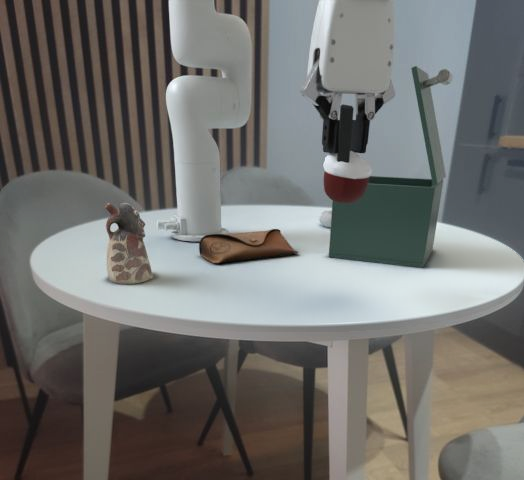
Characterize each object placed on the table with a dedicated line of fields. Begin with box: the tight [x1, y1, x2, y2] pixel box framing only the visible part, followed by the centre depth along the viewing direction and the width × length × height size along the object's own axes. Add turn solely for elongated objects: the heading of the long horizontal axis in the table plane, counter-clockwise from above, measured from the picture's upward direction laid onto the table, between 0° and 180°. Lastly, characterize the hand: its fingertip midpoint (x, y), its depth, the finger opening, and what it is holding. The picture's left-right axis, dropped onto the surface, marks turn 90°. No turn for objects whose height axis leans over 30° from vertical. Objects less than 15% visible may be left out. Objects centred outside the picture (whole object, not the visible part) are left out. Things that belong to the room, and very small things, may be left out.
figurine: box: [104, 202, 154, 285], centre depth 79 cm, size 7×7×12 cm
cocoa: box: [322, 104, 373, 203], centre depth 67 cm, size 10×6×12 cm, turn 131°
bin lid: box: [411, 65, 453, 185], centre depth 86 cm, size 18×15×5 cm
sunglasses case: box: [198, 228, 298, 264], centre depth 96 cm, size 18×7×7 cm
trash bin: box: [328, 175, 444, 269], centre depth 96 cm, size 18×15×14 cm
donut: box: [318, 209, 332, 229], centre depth 124 cm, size 10×4×10 cm
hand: (344, 151), depth 67 cm, fingers closed on cocoa, 3 cm apart
